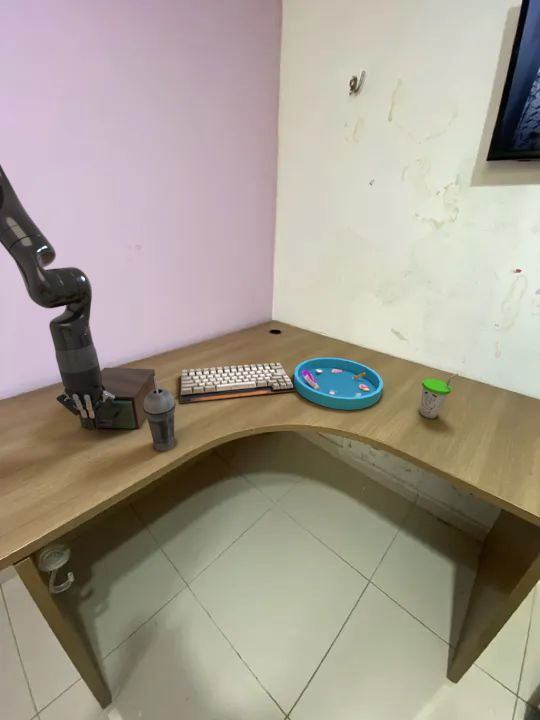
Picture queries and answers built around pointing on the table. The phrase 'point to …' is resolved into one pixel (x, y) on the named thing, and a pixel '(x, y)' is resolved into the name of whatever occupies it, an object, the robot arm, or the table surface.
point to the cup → (434, 396)
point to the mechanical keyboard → (233, 382)
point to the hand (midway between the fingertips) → (94, 428)
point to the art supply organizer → (338, 383)
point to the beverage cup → (160, 417)
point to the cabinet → (130, 387)
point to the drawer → (116, 415)
